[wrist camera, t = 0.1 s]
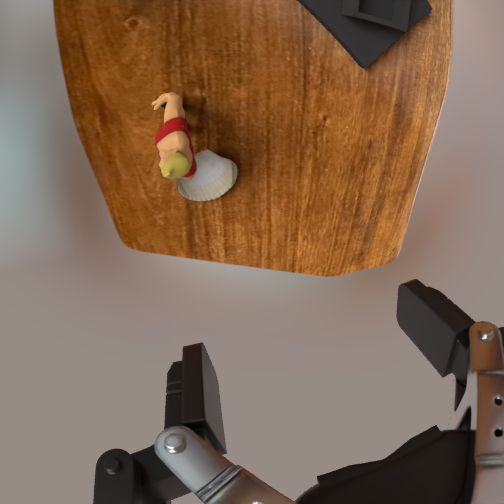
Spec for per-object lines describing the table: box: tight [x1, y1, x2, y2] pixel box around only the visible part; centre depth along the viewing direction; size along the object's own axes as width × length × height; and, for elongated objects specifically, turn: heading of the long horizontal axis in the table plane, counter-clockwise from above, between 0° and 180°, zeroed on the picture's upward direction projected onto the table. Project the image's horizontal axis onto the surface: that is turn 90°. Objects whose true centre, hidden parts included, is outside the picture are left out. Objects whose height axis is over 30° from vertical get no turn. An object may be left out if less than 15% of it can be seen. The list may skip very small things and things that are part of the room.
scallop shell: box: [177, 150, 237, 201], centre depth 39 cm, size 8×3×8 cm
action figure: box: [152, 92, 198, 180], centre depth 28 cm, size 10×4×15 cm, turn 6°
